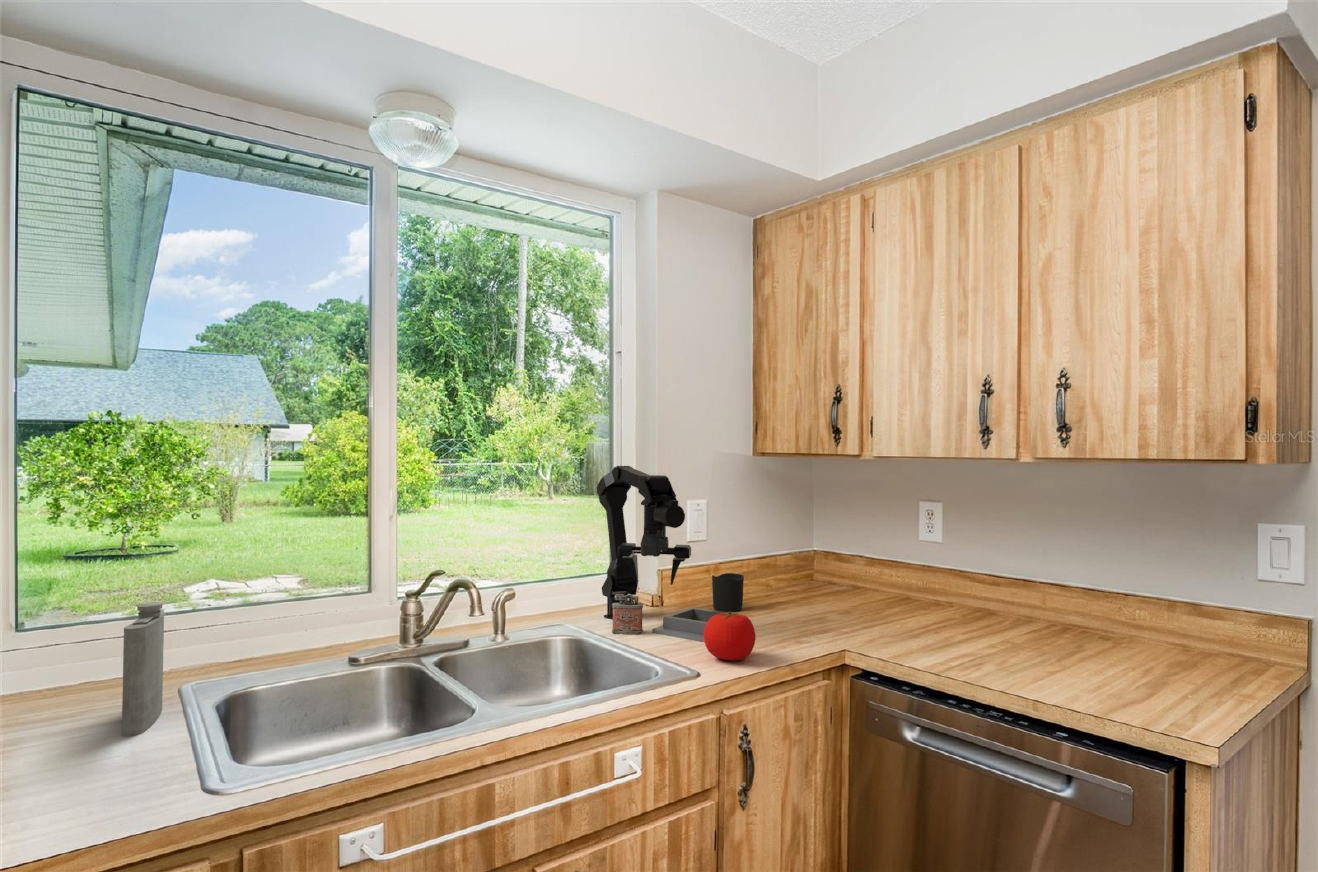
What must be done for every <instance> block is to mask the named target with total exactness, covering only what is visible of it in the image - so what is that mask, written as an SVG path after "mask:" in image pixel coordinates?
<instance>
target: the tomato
mask: <svg viewBox="0 0 1318 872" xmlns="http://www.w3.org/2000/svg"><path fill="white" fill-rule="evenodd" d="M756 639H757V637H756V630H755V626H754V624H753V622H752V620H751V618H749V617H748V616H746V615H744V614H742V613H740V612H739V613H737V612H726V613H721V614H716V615H714V616H713V617H711V618H710V619H709V621H708V622H707V624H706V626H705V629H704V642H703V643H704V644H705V648H706V650H707V651H708V653H710V654H711V655H712V656H714V657H715V658H717V659H720V660H725V661H741V660H745V659H746V658H747V657H749V655H750V654H751V653H752V652H753V649H754V647H755V644H756Z"/></svg>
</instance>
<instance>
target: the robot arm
mask: <svg viewBox="0 0 1318 872" xmlns="http://www.w3.org/2000/svg"><path fill="white" fill-rule="evenodd" d="M632 487H634V488H636V489H637V490H638V491H637V492H638V494H640V495H641V496H642V497H643V498H644V499H643V500H641V502H640V505H641V506H643V534H642V538H641V540H640V541H641V542H640V546H637V544H636V543H635V542H634V543H633V542H627V533H626V525H625V515H624V507H625V504H626V502H627V500H628V492H629V491H630V489H631V488H632ZM596 493H597V495H598V501H599V503H600V505H601V506H602V508H603V509H604V510H605V513H606V522H607V532H608V539H609V540H608V542H609V549H610V551H609V552H610V559H611V560H610V563H609V566H608V567H607V569H606V570H607V571H606V579H605V581H604V582H603V584H602V586H601V593H602V596H603V597H604V596H605V597H606V598H607V599H606V605H607V606H606V609H607V611H606V612H607V613H606V614H604V615H603V618H606V619H612V620H613V607H612V604H613V603H620V600H615V595H616V594H620V595H627V594H631V595H632V596H637V589H638V585H639V581H640V580H639V567H638V565H639V564H638V554H640V555H641V556H642V557H648V556H649V557H654V558H655V557H656V558H657V557H659V556H660V555H666V556H667V555H669V556H673V559H672V565H671V566H672V567H671V574H670V585H671V586H672V585H674V581H675V578H676V575H677V572H678V570H679V566H680V565H681V563H682V562H683V563H684V562H685V561H686V559H690V558H691V556H692V546H691V545H690V544H676V545H675V546H673V547H669V537H668V536H667V535H666V534H667V533H666V532H667V531H666V528H667V527H669V528H671V529H677V528H679V527H681V526H682V525H683V523H684V522H685V519H686V513H685V511H684V509H683V508H682V506H680V505H679V500H678V499H677V494H676V493H675V491H674V488H673V485H672V483H671V481H670V479H669V477H668V476H667V475H664V474H663V475H659V474H658V475H657V474H655V475H654V474H653V475H652V474H648V473H645V472H643V471H641V470H638V469H636V468H633V466H630V465H617V466H614V467H613V469H612V470H611V471H610V472H608V473H607V474H605V475H603V476H601V479H600V480H599V481H598V483H597V485H596ZM622 601H623V603H624V602H625V600H622Z"/></svg>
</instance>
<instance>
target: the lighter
mask: <svg viewBox="0 0 1318 872" xmlns="http://www.w3.org/2000/svg"><path fill="white" fill-rule="evenodd" d="M615 600H620V603H613V604H612V607H613V619H612V629H611V634H612V633H613V635H620V634H622V635H623V636H625V635H626V636H633V635H634V636H638V635H639V636H641V635H643V634H644V629H643V608H644V604H643V603H641V602H640V603H639V595H631V594H627V595H620V594H616V595H615ZM622 600H625V602H624V603H623V601H622ZM622 635H621V636H622Z"/></svg>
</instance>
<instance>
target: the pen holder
mask: <svg viewBox="0 0 1318 872" xmlns="http://www.w3.org/2000/svg"><path fill="white" fill-rule="evenodd" d="M711 580H712V581H711V584H712V586H711V587H712V607H713V609H714V611H720V612H728V613H729V612H731V613H737V612H741V611H742V610H743V605H744V604H743V603H744V575H743V574H740V573H732V572H725V573H722V574H720V575H718V576H715V575H713V574H712V575H711Z"/></svg>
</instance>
